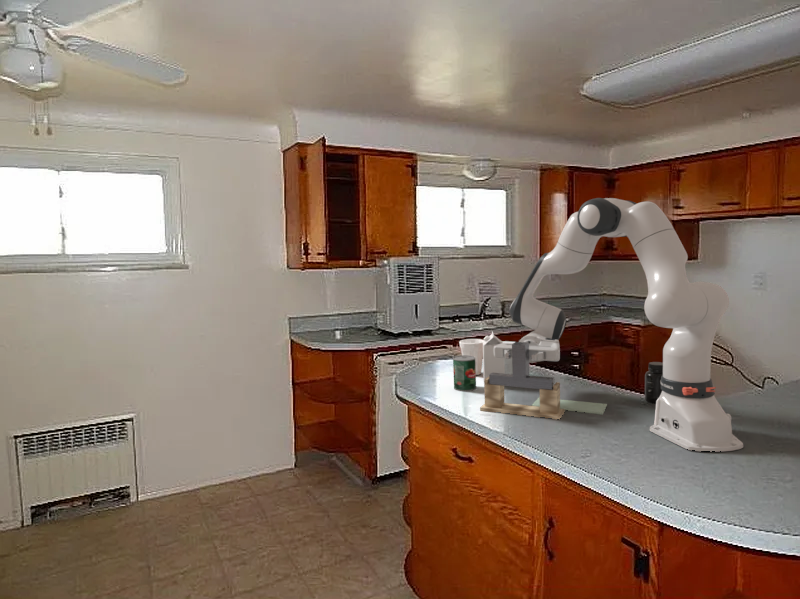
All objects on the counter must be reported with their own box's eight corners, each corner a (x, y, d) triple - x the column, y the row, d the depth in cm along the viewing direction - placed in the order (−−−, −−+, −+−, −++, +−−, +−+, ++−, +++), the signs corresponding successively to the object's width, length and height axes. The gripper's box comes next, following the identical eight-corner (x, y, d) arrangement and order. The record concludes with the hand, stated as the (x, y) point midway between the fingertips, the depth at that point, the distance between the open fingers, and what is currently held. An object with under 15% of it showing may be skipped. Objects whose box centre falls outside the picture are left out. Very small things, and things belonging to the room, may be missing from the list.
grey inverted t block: (554, 386, 162) (554, 343, 161) (551, 390, 159) (550, 346, 157) (493, 381, 171) (492, 340, 170) (488, 384, 168) (487, 343, 166)
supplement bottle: (640, 399, 172) (640, 362, 171) (658, 397, 174) (658, 360, 173) (655, 405, 166) (655, 367, 165) (674, 403, 168) (674, 364, 166)
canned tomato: (476, 391, 190) (475, 360, 189) (453, 391, 191) (452, 360, 190) (476, 385, 198) (475, 355, 196) (454, 385, 199) (453, 355, 198)
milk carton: (503, 381, 201) (501, 330, 199) (505, 386, 194) (503, 333, 192) (483, 381, 201) (482, 331, 199) (484, 387, 194) (483, 334, 192)
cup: (490, 375, 211) (490, 341, 209) (467, 378, 207) (466, 344, 205) (477, 369, 220) (476, 337, 218) (455, 373, 216) (454, 340, 215)
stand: (564, 412, 163) (564, 381, 162) (559, 419, 157) (559, 387, 156) (487, 404, 175) (486, 375, 174) (480, 410, 168) (479, 380, 167)
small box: (502, 374, 212) (501, 340, 210) (518, 375, 209) (518, 341, 207) (496, 379, 205) (495, 344, 203) (512, 380, 202) (512, 345, 200)
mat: (607, 405, 168) (607, 404, 168) (602, 414, 160) (602, 412, 160) (538, 398, 178) (538, 397, 178) (531, 406, 170) (531, 405, 170)
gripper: (500, 337, 180) (486, 345, 168) (563, 339, 170) (554, 348, 158) (500, 355, 181) (486, 365, 168) (564, 359, 171) (554, 370, 159)
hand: (519, 357), depth 163 cm, fingers open, 7 cm apart
